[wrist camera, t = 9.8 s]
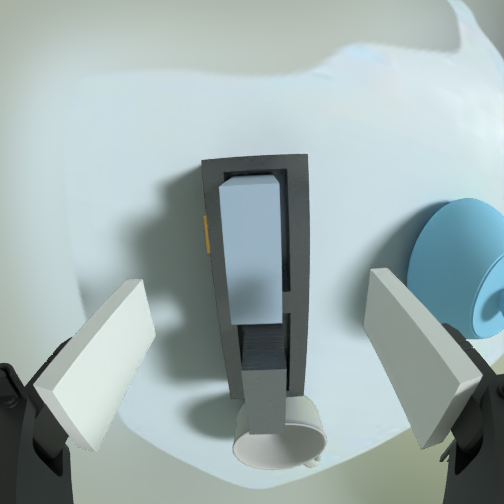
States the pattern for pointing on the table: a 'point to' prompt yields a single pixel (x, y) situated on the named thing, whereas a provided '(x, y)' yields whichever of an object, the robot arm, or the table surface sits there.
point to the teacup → (283, 439)
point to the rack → (293, 293)
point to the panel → (252, 247)
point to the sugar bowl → (462, 268)
